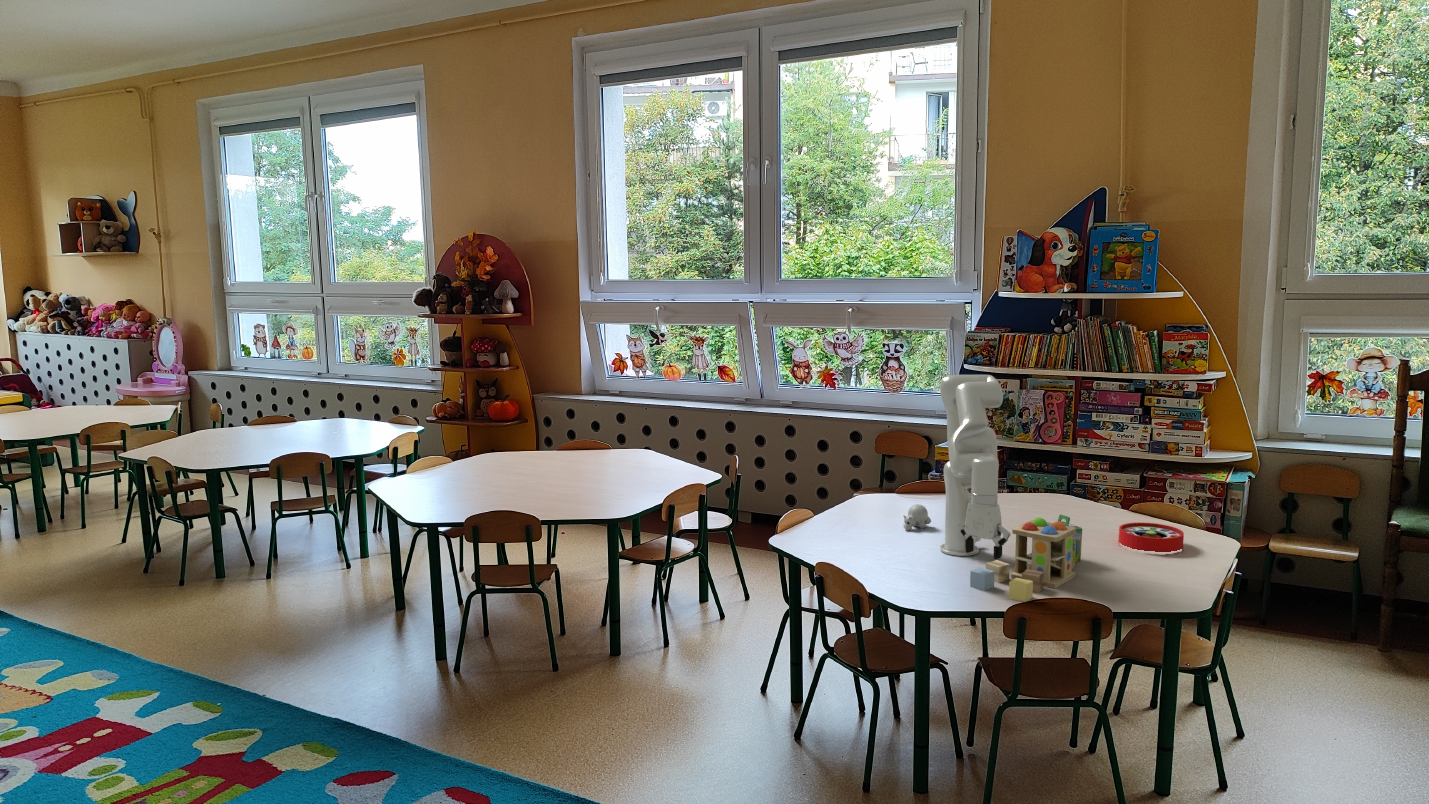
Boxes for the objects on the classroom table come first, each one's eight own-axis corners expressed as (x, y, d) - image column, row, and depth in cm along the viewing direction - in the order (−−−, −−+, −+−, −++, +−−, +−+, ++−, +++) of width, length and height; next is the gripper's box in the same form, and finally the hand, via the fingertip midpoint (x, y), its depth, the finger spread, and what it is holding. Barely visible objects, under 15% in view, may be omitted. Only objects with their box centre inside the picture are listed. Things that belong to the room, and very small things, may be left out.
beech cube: (996, 575, 290) (997, 560, 289) (1009, 579, 286) (1009, 564, 285) (985, 578, 287) (985, 562, 287) (998, 583, 283) (998, 567, 282)
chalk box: (1039, 558, 306) (1040, 514, 304) (1061, 554, 310) (1063, 511, 308) (1059, 565, 298) (1061, 521, 296) (1082, 562, 301) (1083, 517, 299)
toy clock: (1181, 541, 303) (1115, 533, 313) (1180, 559, 304) (1114, 550, 314) (1185, 526, 320) (1122, 519, 330) (1185, 543, 321) (1122, 535, 331)
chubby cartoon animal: (899, 535, 345) (893, 515, 342) (920, 518, 351) (914, 499, 348) (914, 539, 339) (907, 519, 336) (935, 521, 345) (929, 502, 342)
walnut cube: (1026, 585, 281) (1027, 569, 280) (1043, 588, 278) (1043, 571, 277) (1021, 589, 277) (1021, 573, 276) (1038, 592, 274) (1038, 576, 273)
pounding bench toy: (1044, 561, 303) (1046, 507, 300) (1087, 570, 293) (1089, 515, 290) (1009, 578, 287) (1011, 522, 284) (1054, 589, 277) (1056, 530, 274)
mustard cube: (1015, 594, 273) (1016, 577, 273) (1032, 597, 270) (1032, 581, 269) (1008, 598, 270) (1009, 582, 269) (1025, 602, 266) (1026, 585, 266)
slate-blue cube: (979, 583, 283) (980, 567, 282) (994, 587, 279) (994, 571, 279) (970, 586, 280) (970, 570, 279) (984, 591, 276) (984, 574, 276)
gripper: (952, 496, 280) (951, 551, 282) (1002, 505, 267) (1001, 563, 269) (967, 492, 285) (966, 547, 287) (1017, 501, 271) (1016, 558, 273)
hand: (983, 555), depth 278 cm, fingers open, 9 cm apart
